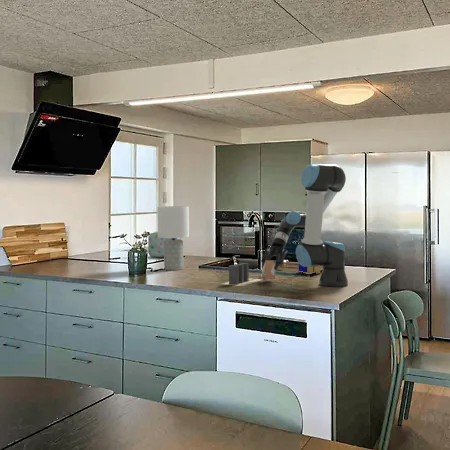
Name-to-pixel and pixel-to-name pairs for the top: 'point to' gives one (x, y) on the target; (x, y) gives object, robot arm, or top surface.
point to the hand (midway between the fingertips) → (267, 273)
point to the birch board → (244, 282)
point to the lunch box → (156, 245)
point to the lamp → (173, 233)
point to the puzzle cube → (310, 269)
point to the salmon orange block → (269, 269)
